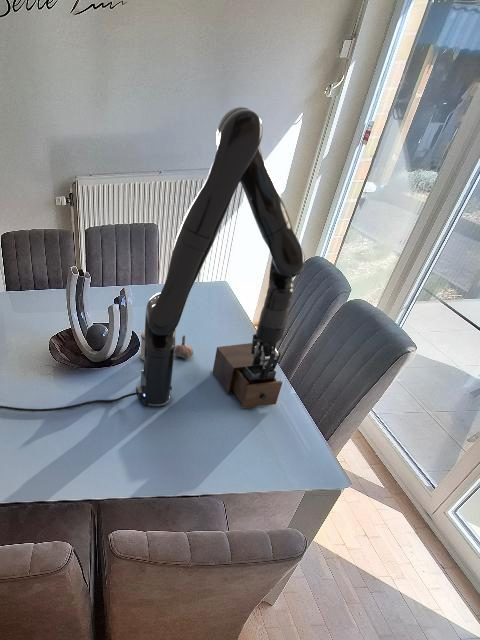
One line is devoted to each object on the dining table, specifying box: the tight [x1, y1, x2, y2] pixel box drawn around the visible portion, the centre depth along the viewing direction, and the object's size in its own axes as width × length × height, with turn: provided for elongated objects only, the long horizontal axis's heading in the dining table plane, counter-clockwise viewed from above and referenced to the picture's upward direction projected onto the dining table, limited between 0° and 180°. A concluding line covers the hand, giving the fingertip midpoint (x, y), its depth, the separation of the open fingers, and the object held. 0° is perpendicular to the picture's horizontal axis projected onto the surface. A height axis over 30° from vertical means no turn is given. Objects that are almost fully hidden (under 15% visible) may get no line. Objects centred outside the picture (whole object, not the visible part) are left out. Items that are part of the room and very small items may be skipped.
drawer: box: [231, 369, 283, 409], centre depth 148 cm, size 15×11×8 cm
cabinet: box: [212, 342, 268, 395], centre depth 156 cm, size 15×13×10 cm
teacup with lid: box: [140, 329, 145, 361], centre depth 168 cm, size 12×9×12 cm
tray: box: [243, 363, 277, 382], centre depth 144 cm, size 8×6×2 cm
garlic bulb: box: [174, 334, 194, 360], centre depth 169 cm, size 8×7×8 cm
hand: (258, 374), depth 144 cm, fingers closed on tray, 5 cm apart
